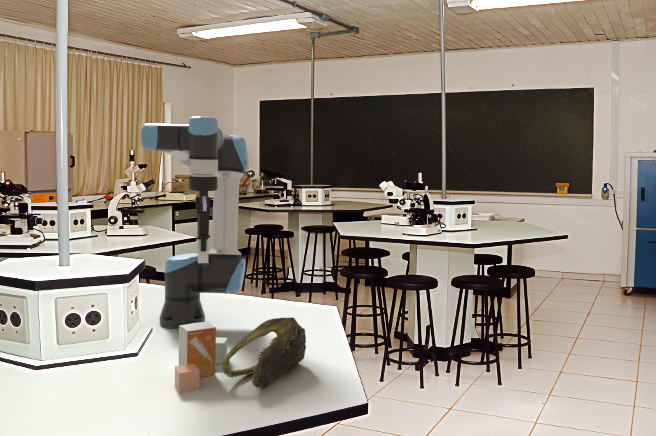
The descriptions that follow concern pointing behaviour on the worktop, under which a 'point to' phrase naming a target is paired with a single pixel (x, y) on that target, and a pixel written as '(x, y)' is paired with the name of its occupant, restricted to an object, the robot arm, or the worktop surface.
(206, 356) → the small box
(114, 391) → the worktop surface
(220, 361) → the sage block
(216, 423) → the worktop surface
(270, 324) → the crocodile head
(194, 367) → the terracotta cube
